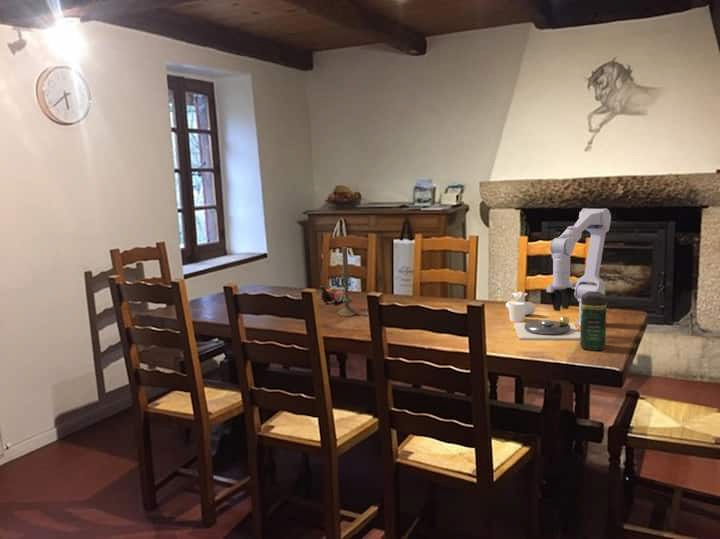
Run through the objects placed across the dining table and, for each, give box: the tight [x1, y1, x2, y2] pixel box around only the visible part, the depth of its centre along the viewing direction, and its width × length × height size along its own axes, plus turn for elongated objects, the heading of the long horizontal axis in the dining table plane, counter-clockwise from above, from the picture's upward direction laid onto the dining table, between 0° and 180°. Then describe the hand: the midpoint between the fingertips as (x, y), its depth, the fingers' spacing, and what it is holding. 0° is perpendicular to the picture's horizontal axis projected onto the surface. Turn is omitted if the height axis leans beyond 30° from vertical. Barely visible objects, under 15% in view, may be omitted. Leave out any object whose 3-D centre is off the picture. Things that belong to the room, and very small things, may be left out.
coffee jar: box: [579, 291, 607, 351], centre depth 205 cm, size 10×8×19 cm
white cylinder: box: [507, 301, 526, 323], centre depth 247 cm, size 7×7×7 cm
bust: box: [505, 290, 536, 316], centre depth 255 cm, size 12×8×11 cm
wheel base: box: [513, 322, 581, 341], centre depth 228 cm, size 22×22×1 cm
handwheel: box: [525, 316, 570, 334], centre depth 227 cm, size 16×16×4 cm
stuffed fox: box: [319, 286, 345, 304], centre depth 296 cm, size 8×11×12 cm
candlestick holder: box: [337, 246, 357, 315], centre depth 268 cm, size 9×9×30 cm
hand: (561, 309), depth 222 cm, fingers open, 4 cm apart
